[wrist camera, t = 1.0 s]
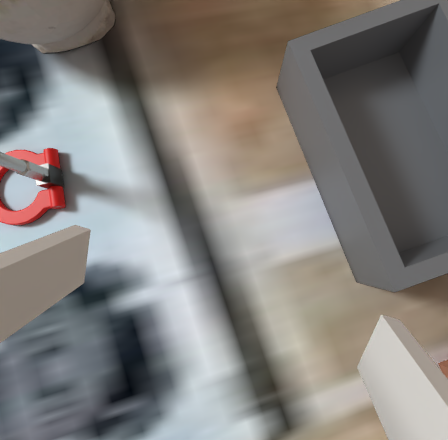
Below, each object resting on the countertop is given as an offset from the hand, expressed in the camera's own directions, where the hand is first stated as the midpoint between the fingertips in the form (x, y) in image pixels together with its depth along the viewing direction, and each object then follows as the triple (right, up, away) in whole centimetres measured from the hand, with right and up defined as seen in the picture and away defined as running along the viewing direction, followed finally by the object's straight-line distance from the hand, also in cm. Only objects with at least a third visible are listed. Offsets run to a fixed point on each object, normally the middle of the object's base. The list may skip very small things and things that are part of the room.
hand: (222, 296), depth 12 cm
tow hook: (-22, +7, +20) cm, 30 cm away
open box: (+17, +10, +18) cm, 27 cm away
